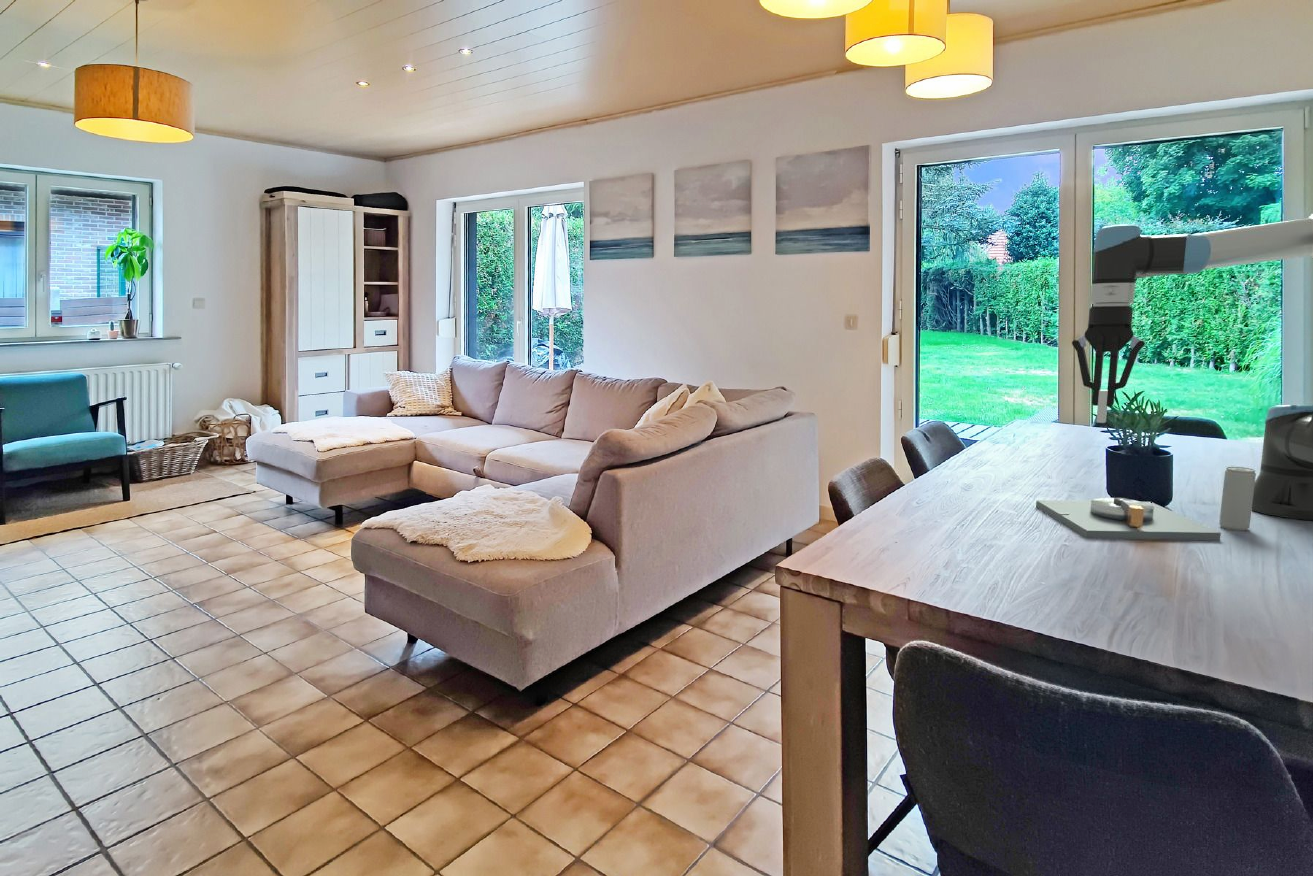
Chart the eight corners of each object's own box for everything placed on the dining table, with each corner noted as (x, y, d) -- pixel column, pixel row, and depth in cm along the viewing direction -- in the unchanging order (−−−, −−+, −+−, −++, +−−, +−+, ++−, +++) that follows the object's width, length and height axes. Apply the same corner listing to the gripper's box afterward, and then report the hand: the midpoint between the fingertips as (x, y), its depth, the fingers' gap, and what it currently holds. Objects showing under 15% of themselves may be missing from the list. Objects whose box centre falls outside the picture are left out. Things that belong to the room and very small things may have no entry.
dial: (1084, 505, 161) (1085, 489, 161) (1143, 508, 158) (1144, 492, 158) (1103, 524, 147) (1105, 506, 146) (1169, 528, 143) (1171, 510, 143)
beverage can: (1254, 532, 147) (1261, 471, 145) (1226, 530, 148) (1233, 471, 146) (1240, 525, 152) (1247, 466, 150) (1213, 524, 153) (1220, 466, 151)
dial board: (1149, 508, 165) (1150, 500, 165) (1220, 540, 142) (1221, 531, 142) (1035, 506, 168) (1036, 498, 167) (1085, 538, 144) (1086, 529, 144)
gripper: (1071, 305, 152) (1062, 421, 156) (1148, 304, 144) (1137, 426, 148) (1076, 305, 158) (1067, 417, 162) (1150, 304, 150) (1139, 422, 154)
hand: (1101, 421), depth 155 cm, fingers closed
